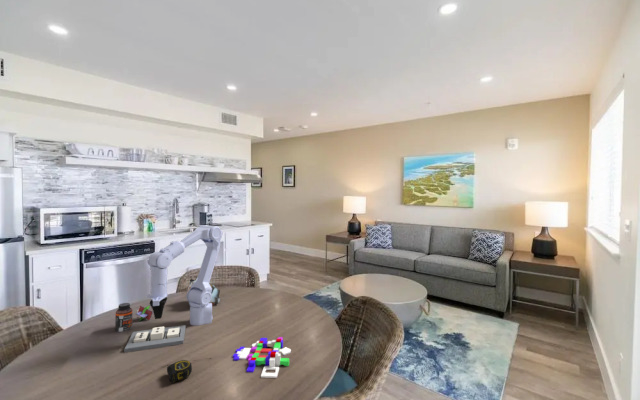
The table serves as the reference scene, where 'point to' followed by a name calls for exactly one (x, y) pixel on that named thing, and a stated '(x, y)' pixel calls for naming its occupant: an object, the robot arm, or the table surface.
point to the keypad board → (155, 343)
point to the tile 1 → (157, 333)
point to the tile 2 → (173, 333)
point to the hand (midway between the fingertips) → (158, 318)
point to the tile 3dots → (141, 337)
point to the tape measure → (179, 370)
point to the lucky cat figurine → (214, 293)
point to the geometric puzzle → (144, 312)
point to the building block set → (264, 356)
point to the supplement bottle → (123, 317)
